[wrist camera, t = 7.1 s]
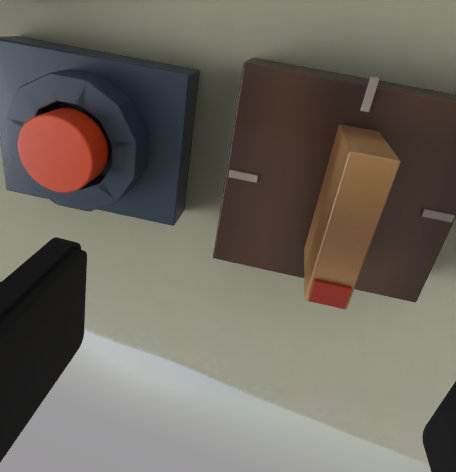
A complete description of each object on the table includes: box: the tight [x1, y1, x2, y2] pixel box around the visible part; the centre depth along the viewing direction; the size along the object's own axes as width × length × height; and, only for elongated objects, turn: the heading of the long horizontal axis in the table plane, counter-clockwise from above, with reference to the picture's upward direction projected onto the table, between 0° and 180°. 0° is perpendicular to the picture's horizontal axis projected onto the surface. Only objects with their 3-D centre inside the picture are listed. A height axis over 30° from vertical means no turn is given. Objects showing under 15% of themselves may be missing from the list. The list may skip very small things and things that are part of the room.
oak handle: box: [304, 124, 400, 309], centre depth 17 cm, size 6×2×5 cm, turn 171°
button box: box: [0, 36, 199, 225], centre depth 21 cm, size 10×8×4 cm
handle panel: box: [213, 58, 456, 302], centre depth 21 cm, size 11×11×3 cm
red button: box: [18, 108, 108, 193], centre depth 19 cm, size 4×4×2 cm
